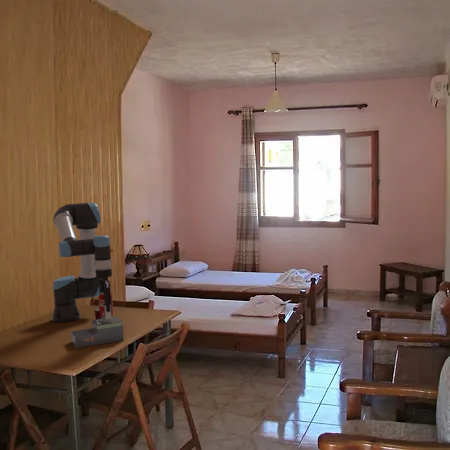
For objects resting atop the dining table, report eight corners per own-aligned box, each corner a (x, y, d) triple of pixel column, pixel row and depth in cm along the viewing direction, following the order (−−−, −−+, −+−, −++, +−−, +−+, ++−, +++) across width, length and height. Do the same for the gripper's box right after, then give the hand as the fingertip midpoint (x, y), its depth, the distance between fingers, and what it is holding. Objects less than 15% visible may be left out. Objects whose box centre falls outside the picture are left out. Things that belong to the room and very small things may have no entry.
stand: (71, 344, 262) (70, 319, 261) (117, 337, 271) (116, 313, 270) (76, 351, 251) (74, 325, 250) (124, 343, 260) (122, 318, 259)
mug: (106, 331, 277) (105, 312, 276) (91, 331, 278) (89, 312, 277) (114, 326, 287) (112, 307, 286) (99, 326, 289) (98, 307, 288)
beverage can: (100, 316, 265) (99, 291, 264) (114, 315, 265) (112, 291, 264) (99, 319, 259) (97, 294, 258) (112, 318, 259) (111, 293, 258)
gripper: (91, 266, 267) (94, 313, 269) (99, 272, 250) (103, 322, 252) (106, 265, 270) (109, 311, 272) (116, 270, 253) (119, 319, 255)
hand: (106, 316), depth 262 cm, fingers closed on beverage can, 6 cm apart
